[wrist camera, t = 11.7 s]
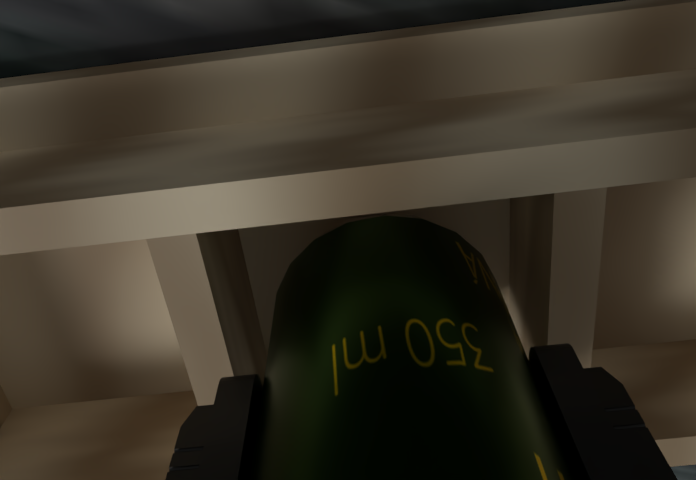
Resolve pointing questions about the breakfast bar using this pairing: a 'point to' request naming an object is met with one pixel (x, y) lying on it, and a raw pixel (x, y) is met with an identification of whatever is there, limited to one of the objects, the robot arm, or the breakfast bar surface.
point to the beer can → (399, 365)
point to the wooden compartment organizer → (339, 212)
